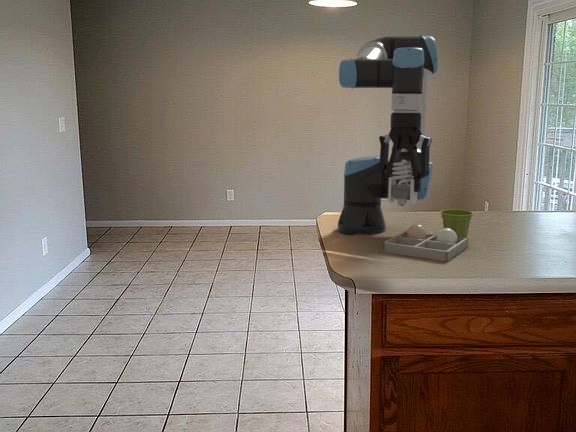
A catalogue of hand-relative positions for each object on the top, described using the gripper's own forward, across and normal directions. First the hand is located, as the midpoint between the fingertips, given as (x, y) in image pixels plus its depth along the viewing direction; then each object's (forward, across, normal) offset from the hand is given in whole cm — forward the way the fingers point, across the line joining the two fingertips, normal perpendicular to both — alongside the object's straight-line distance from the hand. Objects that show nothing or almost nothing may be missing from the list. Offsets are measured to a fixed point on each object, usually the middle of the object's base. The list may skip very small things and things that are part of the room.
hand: (402, 202), depth 154 cm
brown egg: (+14, -2, +15) cm, 21 cm away
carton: (+15, +3, +11) cm, 19 cm away
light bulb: (+1, 0, 0) cm, 1 cm away
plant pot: (+15, +5, +27) cm, 32 cm away
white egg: (+14, +7, +15) cm, 22 cm away
